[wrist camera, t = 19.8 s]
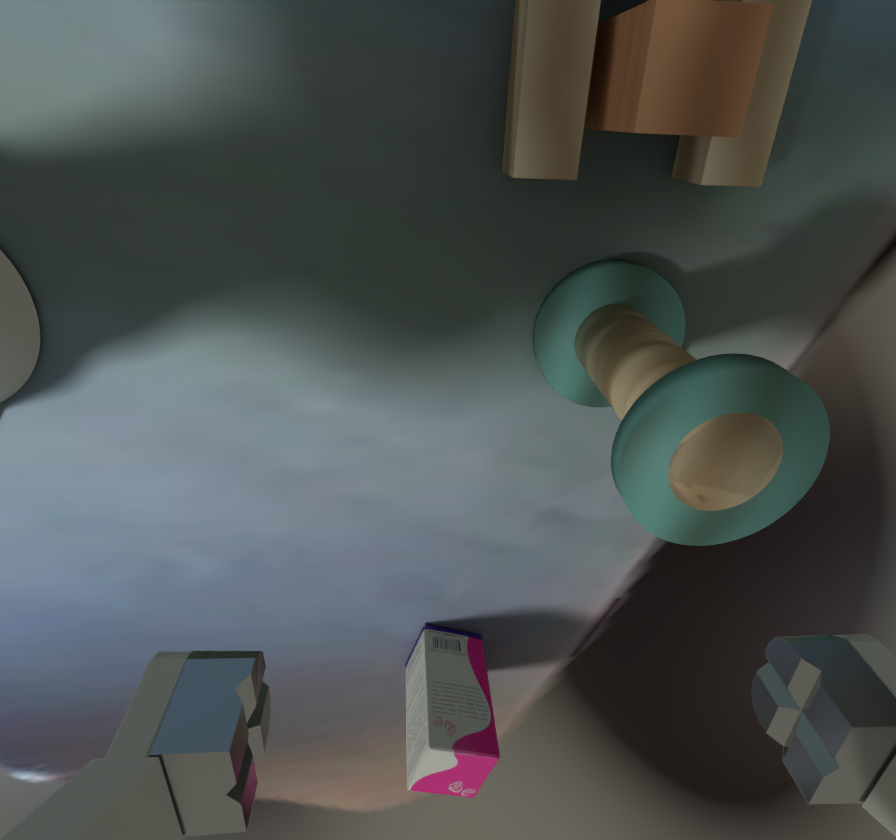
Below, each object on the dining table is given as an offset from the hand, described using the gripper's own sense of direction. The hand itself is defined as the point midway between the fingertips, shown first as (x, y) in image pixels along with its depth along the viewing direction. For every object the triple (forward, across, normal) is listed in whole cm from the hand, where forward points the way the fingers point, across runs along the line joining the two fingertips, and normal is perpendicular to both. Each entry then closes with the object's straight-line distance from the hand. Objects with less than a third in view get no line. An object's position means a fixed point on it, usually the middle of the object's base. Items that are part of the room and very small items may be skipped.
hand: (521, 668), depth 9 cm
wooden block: (+31, -11, -10) cm, 35 cm away
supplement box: (+31, -2, +36) cm, 48 cm away
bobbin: (+31, -12, +5) cm, 34 cm away
